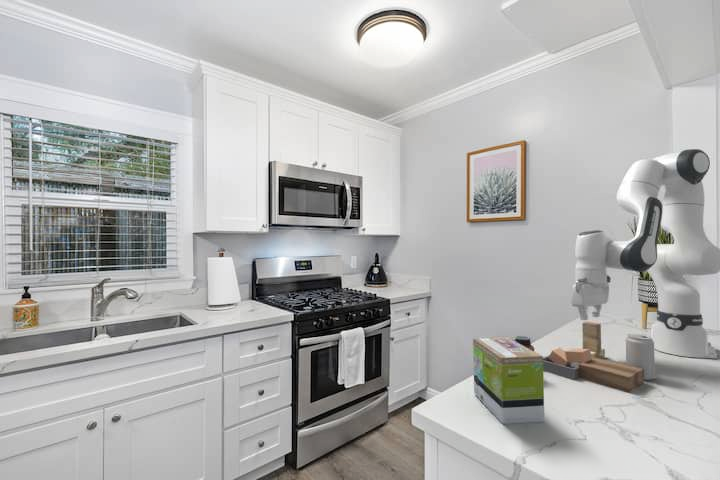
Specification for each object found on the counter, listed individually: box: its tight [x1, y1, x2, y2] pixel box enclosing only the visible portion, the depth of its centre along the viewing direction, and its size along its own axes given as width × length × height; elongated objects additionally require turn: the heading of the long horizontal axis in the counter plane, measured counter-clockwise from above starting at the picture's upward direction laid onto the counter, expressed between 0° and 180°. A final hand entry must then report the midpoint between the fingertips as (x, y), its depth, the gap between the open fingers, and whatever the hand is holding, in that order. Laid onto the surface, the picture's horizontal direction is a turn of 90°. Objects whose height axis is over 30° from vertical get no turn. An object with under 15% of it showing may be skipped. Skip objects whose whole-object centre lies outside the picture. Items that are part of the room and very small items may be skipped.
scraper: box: [582, 321, 606, 359], centre depth 114 cm, size 10×4×12 cm, turn 125°
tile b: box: [564, 348, 592, 363], centre depth 102 cm, size 5×5×3 cm
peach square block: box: [548, 347, 573, 367], centre depth 106 cm, size 5×5×3 cm
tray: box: [543, 354, 593, 381], centre depth 104 cm, size 16×10×3 cm, turn 125°
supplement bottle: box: [514, 335, 535, 352], centre depth 99 cm, size 6×6×11 cm
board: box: [578, 357, 645, 394], centre depth 95 cm, size 11×12×4 cm
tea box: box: [472, 336, 545, 425], centre depth 80 cm, size 15×10×15 cm, turn 5°
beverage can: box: [625, 333, 656, 382], centre depth 98 cm, size 6×6×12 cm
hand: (590, 318), depth 114 cm, fingers open, 8 cm apart
